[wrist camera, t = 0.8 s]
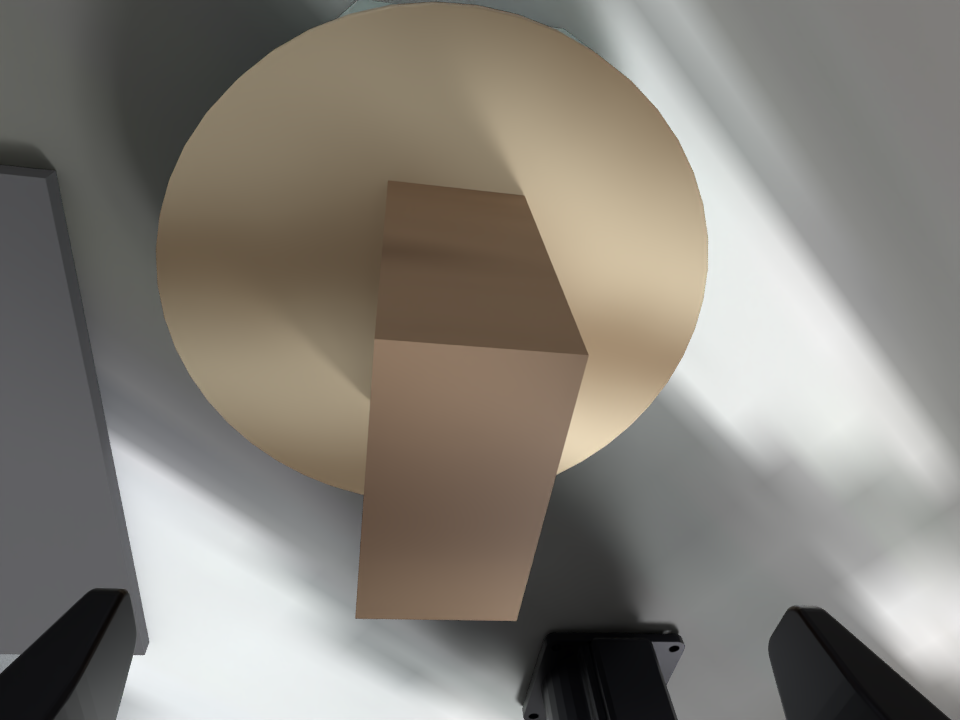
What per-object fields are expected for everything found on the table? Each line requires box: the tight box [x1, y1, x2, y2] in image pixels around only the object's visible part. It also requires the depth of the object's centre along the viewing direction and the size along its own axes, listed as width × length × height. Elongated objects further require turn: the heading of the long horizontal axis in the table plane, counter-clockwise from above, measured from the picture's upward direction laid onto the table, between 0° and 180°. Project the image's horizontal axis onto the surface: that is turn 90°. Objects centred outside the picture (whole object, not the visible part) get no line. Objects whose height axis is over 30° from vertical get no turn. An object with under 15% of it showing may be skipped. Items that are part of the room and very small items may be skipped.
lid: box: [156, 2, 708, 621], centre depth 14 cm, size 13×13×7 cm
